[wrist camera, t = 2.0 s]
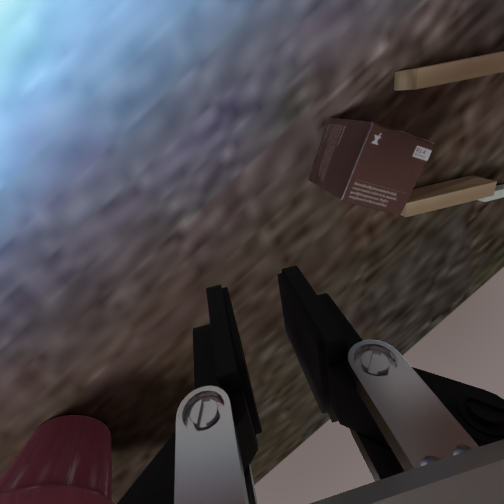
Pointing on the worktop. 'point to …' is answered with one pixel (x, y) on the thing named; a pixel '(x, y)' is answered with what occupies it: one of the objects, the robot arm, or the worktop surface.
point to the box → (369, 163)
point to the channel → (437, 75)
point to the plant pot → (62, 465)
